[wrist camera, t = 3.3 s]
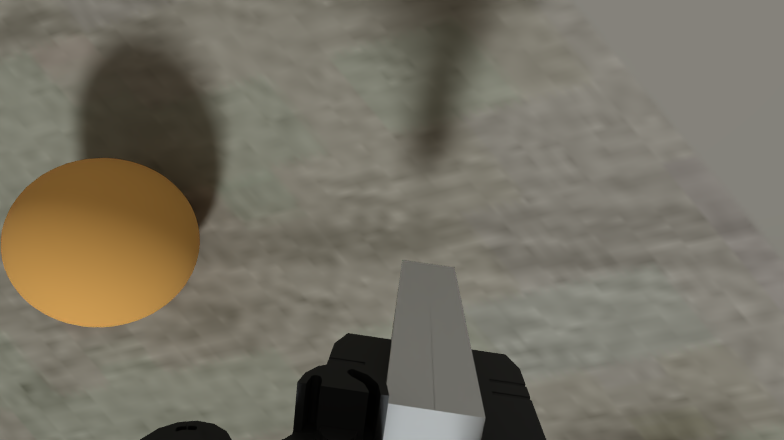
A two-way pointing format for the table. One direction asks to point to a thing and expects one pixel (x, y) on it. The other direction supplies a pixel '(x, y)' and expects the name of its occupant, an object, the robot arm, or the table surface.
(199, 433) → the robot arm
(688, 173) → the table surface
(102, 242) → the ball
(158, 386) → the table surface
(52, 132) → the table surface
